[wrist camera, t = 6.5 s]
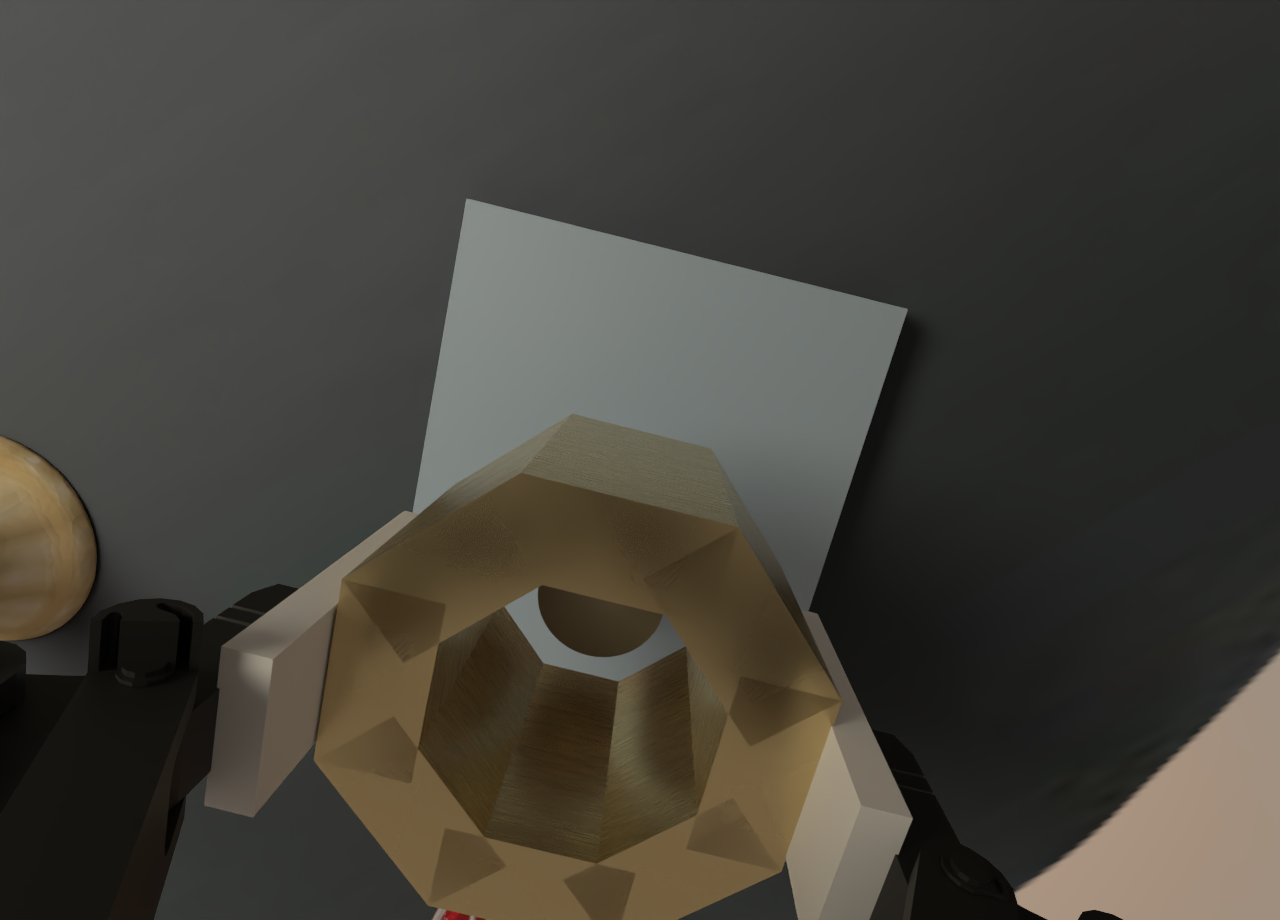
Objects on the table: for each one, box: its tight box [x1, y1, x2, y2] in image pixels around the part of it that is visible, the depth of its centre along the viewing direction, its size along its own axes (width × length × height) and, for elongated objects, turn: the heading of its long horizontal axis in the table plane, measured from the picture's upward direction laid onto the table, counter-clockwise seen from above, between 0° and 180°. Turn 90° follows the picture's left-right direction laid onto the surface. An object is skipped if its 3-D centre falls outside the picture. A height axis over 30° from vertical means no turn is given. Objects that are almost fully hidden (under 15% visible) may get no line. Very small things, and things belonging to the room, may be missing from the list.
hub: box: [314, 414, 842, 920], centre depth 14 cm, size 8×8×6 cm
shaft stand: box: [413, 199, 908, 681], centre depth 20 cm, size 18×14×7 cm
